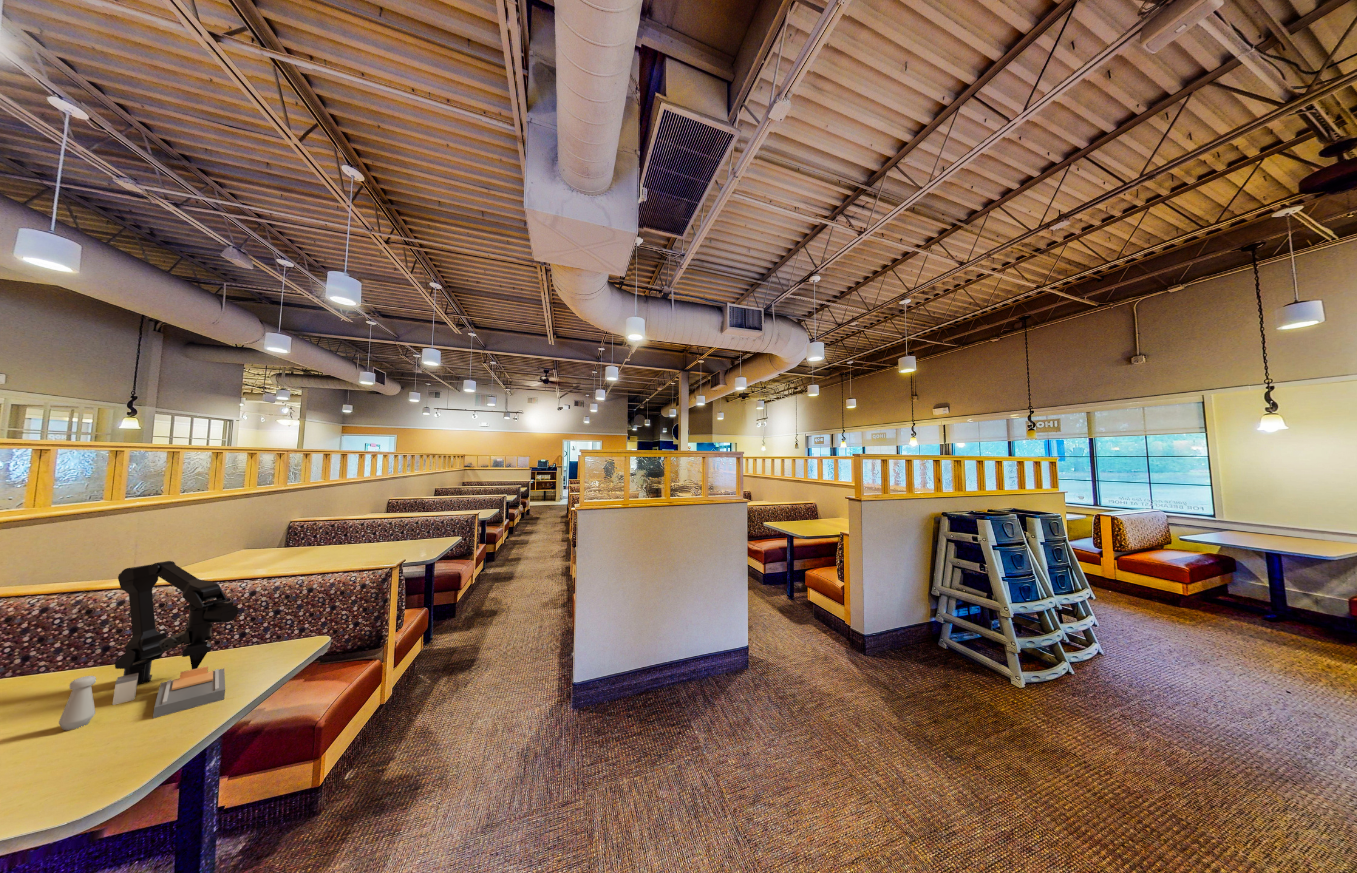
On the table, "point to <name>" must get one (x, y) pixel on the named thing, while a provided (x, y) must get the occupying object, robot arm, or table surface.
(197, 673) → the shutter
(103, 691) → the table surface
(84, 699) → the salt shaker
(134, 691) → the plug
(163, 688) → the socket block
